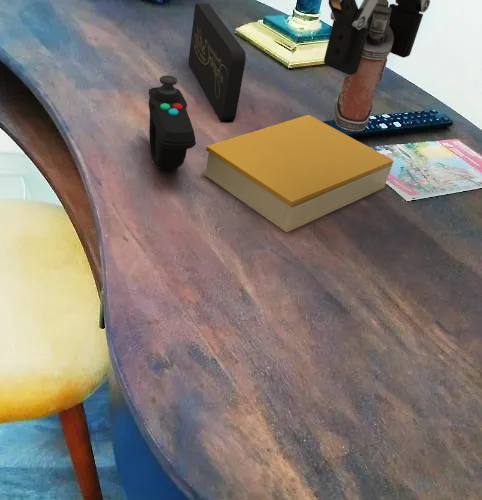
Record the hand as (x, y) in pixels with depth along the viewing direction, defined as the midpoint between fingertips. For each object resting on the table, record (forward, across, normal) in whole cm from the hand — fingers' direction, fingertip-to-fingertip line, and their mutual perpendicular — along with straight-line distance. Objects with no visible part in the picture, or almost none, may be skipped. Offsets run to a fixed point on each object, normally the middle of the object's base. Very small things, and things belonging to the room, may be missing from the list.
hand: (367, 59), depth 58 cm
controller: (+20, -5, +20) cm, 29 cm away
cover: (+16, +6, +9) cm, 19 cm away
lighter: (+5, 0, 0) cm, 5 cm away
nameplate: (+20, +15, +34) cm, 42 cm away
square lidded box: (+20, +6, +9) cm, 23 cm away
